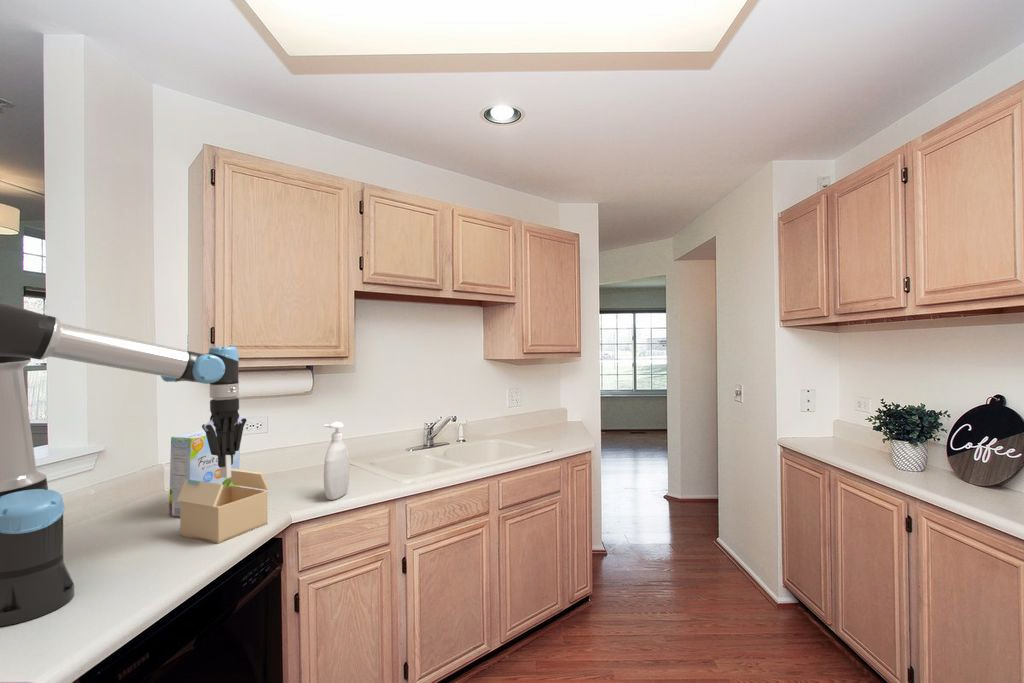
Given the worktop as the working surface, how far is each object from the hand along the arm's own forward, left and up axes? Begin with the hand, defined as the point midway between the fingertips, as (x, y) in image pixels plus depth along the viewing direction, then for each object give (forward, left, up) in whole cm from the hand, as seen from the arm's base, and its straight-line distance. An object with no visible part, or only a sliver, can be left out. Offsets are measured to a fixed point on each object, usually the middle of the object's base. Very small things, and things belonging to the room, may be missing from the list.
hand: (225, 476), depth 146 cm
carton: (0, 0, -16) cm, 16 cm away
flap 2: (+7, 0, -3) cm, 7 cm away
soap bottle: (+37, -8, -16) cm, 41 cm away
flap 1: (-7, 0, -3) cm, 8 cm away
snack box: (+12, +25, -16) cm, 32 cm away
